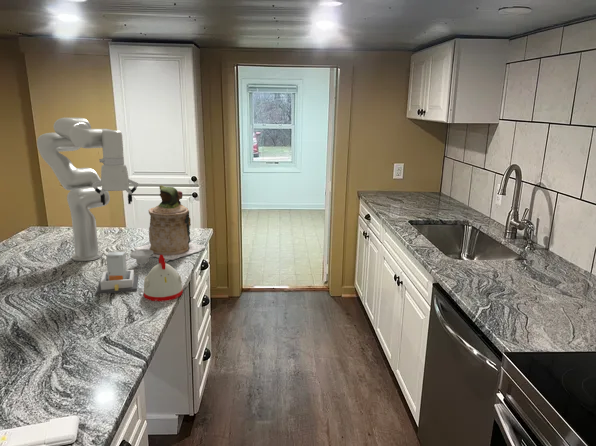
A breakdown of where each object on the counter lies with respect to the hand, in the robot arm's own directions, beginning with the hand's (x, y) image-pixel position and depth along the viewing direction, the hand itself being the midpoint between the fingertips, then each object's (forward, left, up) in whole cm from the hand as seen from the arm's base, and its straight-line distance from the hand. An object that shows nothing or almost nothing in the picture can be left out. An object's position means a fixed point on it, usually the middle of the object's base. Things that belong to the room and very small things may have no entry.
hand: (117, 204), depth 179 cm
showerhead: (-2, +8, -28) cm, 30 cm away
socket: (+18, 0, -28) cm, 34 cm away
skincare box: (+18, 0, -28) cm, 33 cm away
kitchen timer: (+30, +17, -29) cm, 44 cm away
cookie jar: (-21, +20, -29) cm, 41 cm away
